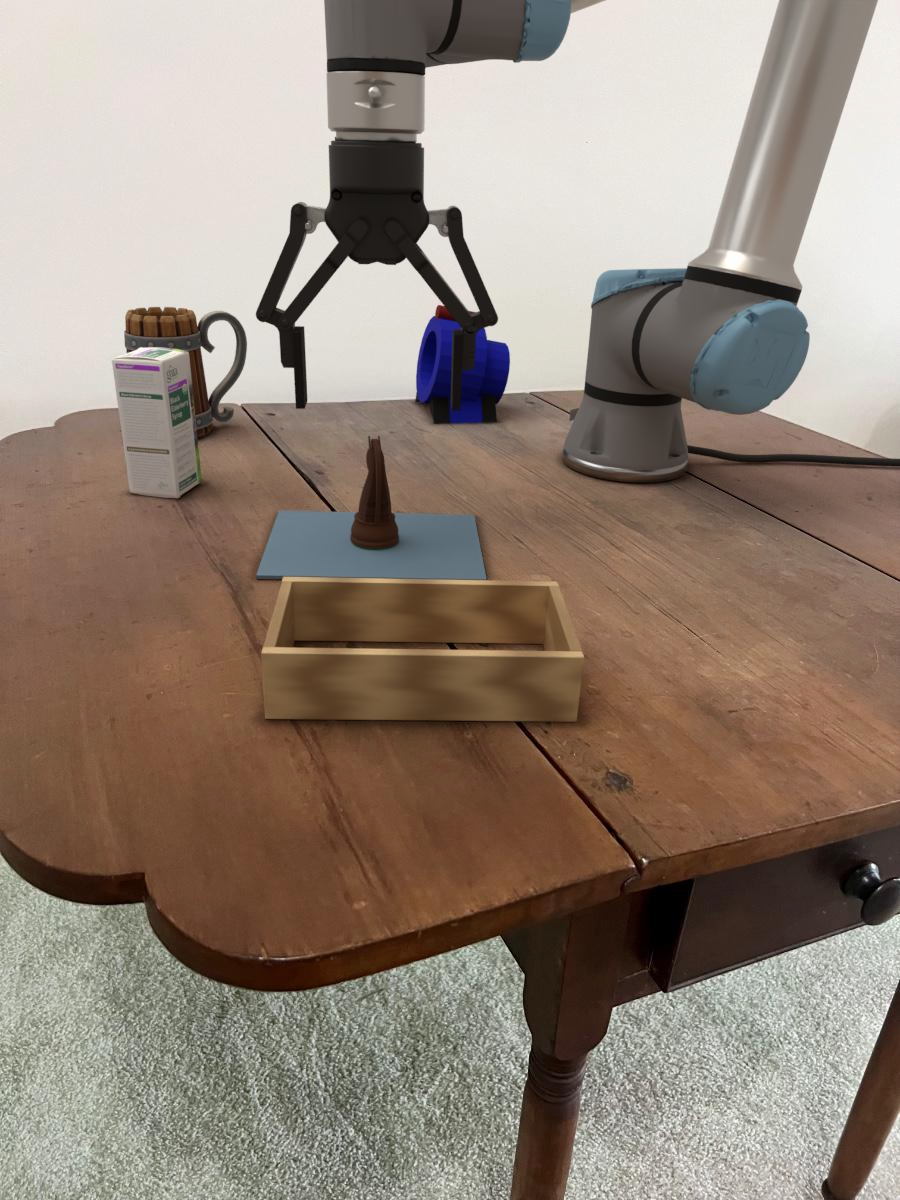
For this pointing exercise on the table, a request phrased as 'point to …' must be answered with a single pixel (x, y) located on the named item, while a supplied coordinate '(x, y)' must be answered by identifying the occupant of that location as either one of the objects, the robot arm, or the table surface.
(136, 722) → the table surface
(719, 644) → the table surface
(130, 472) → the syrup box
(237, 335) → the mug
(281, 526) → the mat
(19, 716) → the table surface
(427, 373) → the alarm clock
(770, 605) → the table surface
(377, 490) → the chess piece
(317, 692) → the pine box
